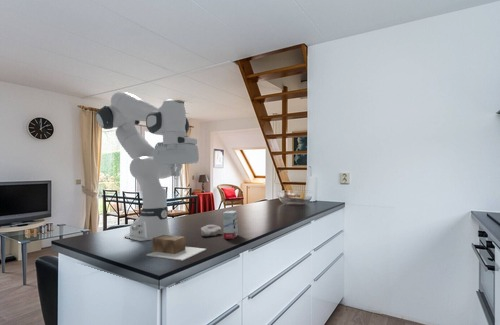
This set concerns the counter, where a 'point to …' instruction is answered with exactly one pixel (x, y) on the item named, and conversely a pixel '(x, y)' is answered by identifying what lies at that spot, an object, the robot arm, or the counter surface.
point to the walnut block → (168, 244)
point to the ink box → (230, 224)
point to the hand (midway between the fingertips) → (175, 176)
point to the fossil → (210, 230)
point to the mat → (178, 254)
